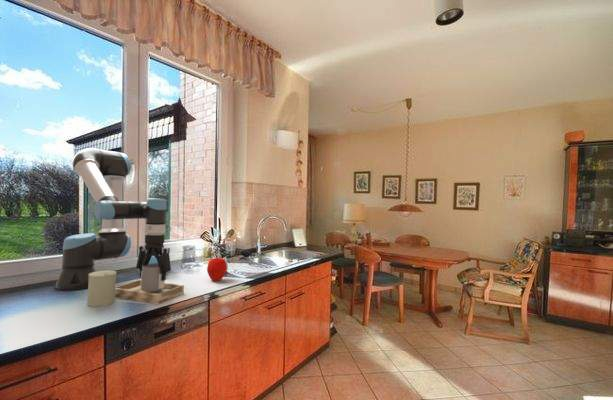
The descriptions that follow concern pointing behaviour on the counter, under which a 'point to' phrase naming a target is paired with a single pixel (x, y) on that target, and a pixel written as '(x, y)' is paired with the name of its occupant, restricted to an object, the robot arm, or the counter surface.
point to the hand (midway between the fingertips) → (152, 286)
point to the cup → (150, 277)
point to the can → (101, 288)
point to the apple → (216, 268)
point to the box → (135, 293)
